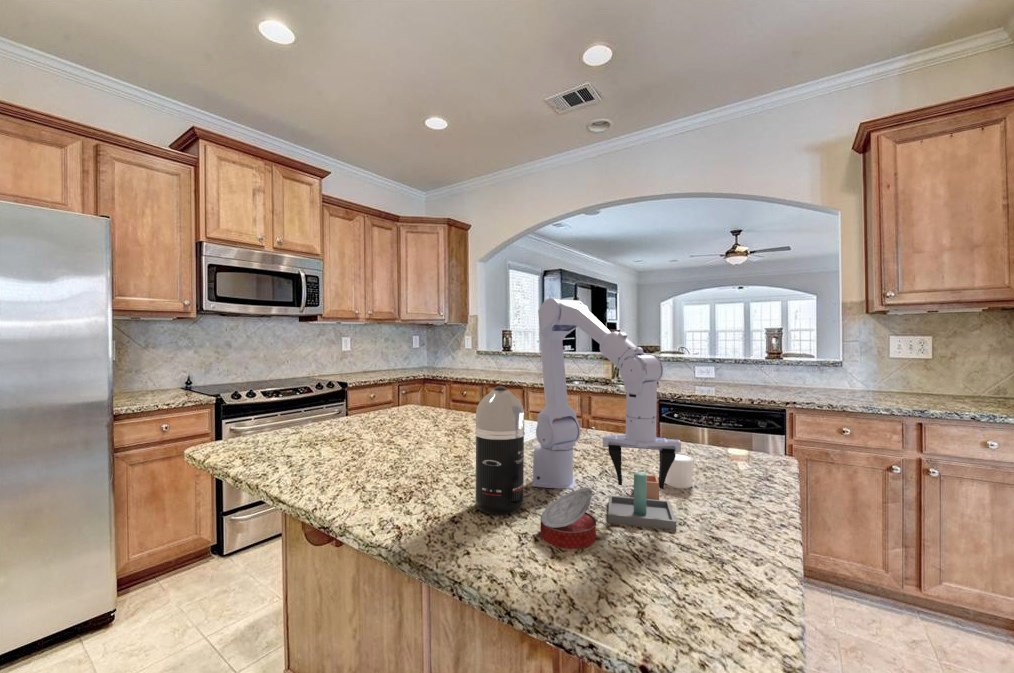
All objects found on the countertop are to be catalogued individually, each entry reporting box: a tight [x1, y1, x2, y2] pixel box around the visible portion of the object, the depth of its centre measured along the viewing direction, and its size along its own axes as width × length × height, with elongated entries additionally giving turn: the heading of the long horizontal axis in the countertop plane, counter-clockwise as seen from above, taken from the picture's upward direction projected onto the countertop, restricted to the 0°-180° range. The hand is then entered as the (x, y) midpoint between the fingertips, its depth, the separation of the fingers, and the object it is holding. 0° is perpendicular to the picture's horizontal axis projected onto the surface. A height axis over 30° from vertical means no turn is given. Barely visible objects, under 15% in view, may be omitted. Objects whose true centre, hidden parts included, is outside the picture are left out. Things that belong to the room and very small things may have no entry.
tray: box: [607, 495, 677, 531], centre depth 84 cm, size 12×10×2 cm
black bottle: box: [474, 385, 526, 516], centre depth 89 cm, size 10×10×25 cm
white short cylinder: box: [665, 452, 695, 489], centre depth 102 cm, size 7×7×7 cm
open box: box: [647, 474, 660, 500], centre depth 96 cm, size 5×5×4 cm
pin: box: [633, 471, 648, 515], centre depth 84 cm, size 2×2×8 cm
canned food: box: [539, 487, 597, 550], centre depth 77 cm, size 11×10×10 cm
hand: (640, 485), depth 84 cm, fingers open, 7 cm apart
